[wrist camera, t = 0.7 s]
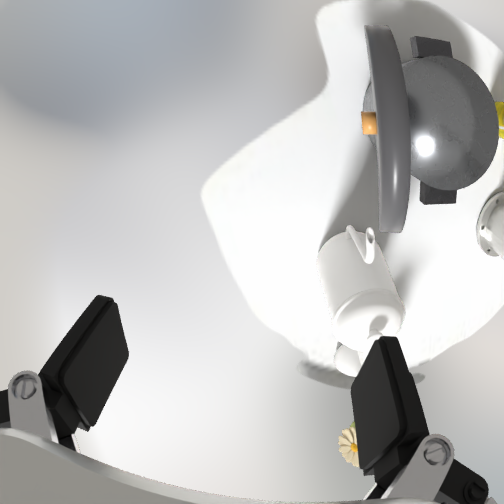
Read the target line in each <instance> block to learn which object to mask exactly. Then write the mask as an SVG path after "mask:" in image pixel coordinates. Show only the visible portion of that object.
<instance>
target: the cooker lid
mask: <svg viewBox="0 0 504 504" xmlns="http://www.w3.org/2000/svg"><path fill="white" fill-rule="evenodd" d="M365 36H366V43H367V51H368V59H369V66H370V75H371V84H372V93H373V103H374V112H361V116H362V128H363V134H375V135H376V143H377V163H378V194H379V231H380V232H391V233H401V232H402V230H403V227H404V224H405V220H406V214H407V208H408V200H409V190H410V175H411V136H410V119H409V108H408V99H407V92H406V85H405V80H404V74H403V69H402V64H401V60H400V56H399V52H398V49H397V46H396V42H395V40H394V37H393V34H392V32H391V30H390V29H389V27H388V26H382V25H365Z"/></svg>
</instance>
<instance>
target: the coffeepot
mask: <svg viewBox="0 0 504 504" xmlns="http://www.w3.org/2000/svg"><path fill="white" fill-rule="evenodd" d="M316 265H317V272H318V276H319V279H320V282H321V285H322V289H323V292H324V295H325V298H326V302H327V305H328V308H329V312H330V315H331V319H332V329H333V333H334V335H335V337H336V338H337V340H338V341H339V342H341V343H342V344H344V345H346V346H347V347H349V348H351V349H353V350H357V351H358V355H359V360H360V363H361V366H362V365H363V363H364V361H365V359H366V357H367V355H368V353H369V351H370V349H371V347H372V345H373V343H374V341H375V340H378V339H379V338H380V337H381V336H395V337H396V335H397V334H398V332H399V331H400V329H401V326H402V324H403V321H404V318H405V307H404V304H403V302H402V300H401V298H400V297H399V296H398V293H397V290H396V287H395V285H394V282H393V279H392V277H391V274H390V271H389V269H388V266H387V264H386V261H385V259H384V256H383V254H382V251H381V249H380V247H379V245H378V243H377V242H376V241H375V234H374V231H373V229H372V228H371V227H367V229H366V234H365V233H362V232H358V231H355V229H354V227H353V226H351V225H348V226H347V227H346V232H342V233H339V234H337V235H335V236H333V237H332V238H330V239H329V240H328V241H327V242H326V243H325V244H324V245H323V247H322V248H321V250H320V252H319V254H318V257H317V264H316Z"/></svg>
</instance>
